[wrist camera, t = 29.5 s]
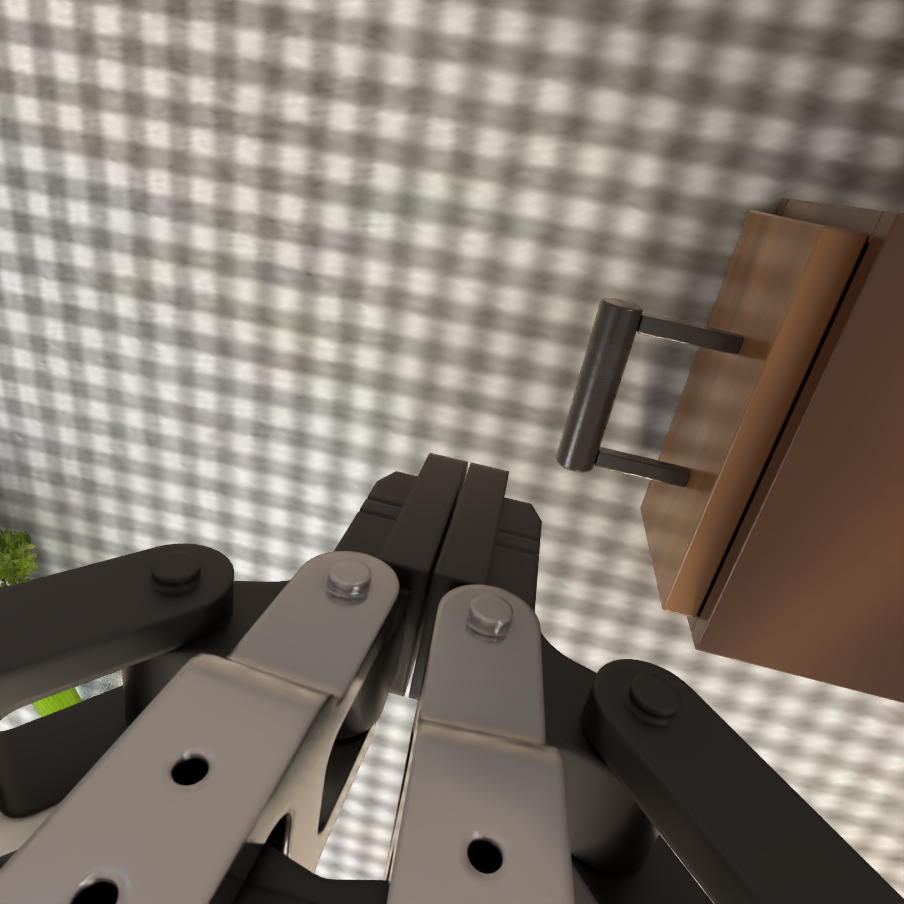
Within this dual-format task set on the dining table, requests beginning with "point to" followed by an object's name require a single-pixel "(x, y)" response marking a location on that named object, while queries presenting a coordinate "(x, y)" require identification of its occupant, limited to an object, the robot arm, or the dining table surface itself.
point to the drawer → (717, 393)
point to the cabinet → (830, 497)
